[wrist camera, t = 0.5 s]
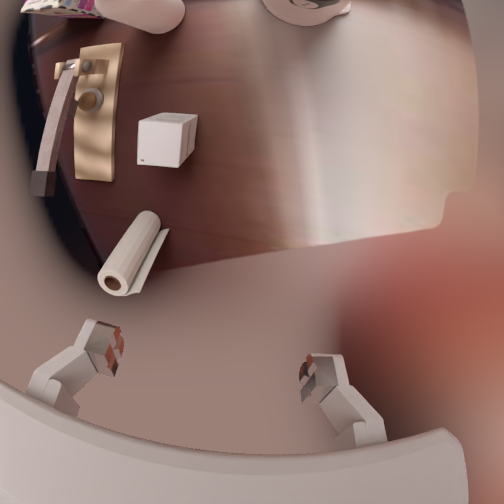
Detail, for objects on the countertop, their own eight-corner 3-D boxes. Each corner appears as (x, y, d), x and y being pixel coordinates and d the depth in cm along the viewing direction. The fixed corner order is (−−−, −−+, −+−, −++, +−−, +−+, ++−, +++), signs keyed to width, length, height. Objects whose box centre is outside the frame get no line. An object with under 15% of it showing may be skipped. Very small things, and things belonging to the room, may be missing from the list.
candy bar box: (114, -1, 29) (70, -18, 16) (105, 19, 32) (57, 8, 18) (75, -1, 27) (28, -11, 13) (67, 18, 29) (18, 13, 16)
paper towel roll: (132, 218, 59) (91, 278, 41) (149, 205, 57) (109, 264, 39) (151, 240, 62) (119, 305, 45) (169, 228, 60) (139, 294, 43)
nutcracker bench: (84, 48, 35) (49, 47, 25) (124, 43, 36) (93, 37, 26) (78, 175, 52) (49, 198, 42) (114, 179, 53) (87, 202, 43)
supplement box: (195, 150, 50) (178, 170, 40) (159, 146, 49) (135, 165, 39) (199, 114, 46) (183, 123, 35) (162, 111, 45) (137, 120, 35)
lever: (76, 69, 33) (63, 59, 28) (92, 67, 33) (80, 56, 28) (46, 194, 37) (29, 194, 32) (60, 196, 37) (44, 196, 32)
